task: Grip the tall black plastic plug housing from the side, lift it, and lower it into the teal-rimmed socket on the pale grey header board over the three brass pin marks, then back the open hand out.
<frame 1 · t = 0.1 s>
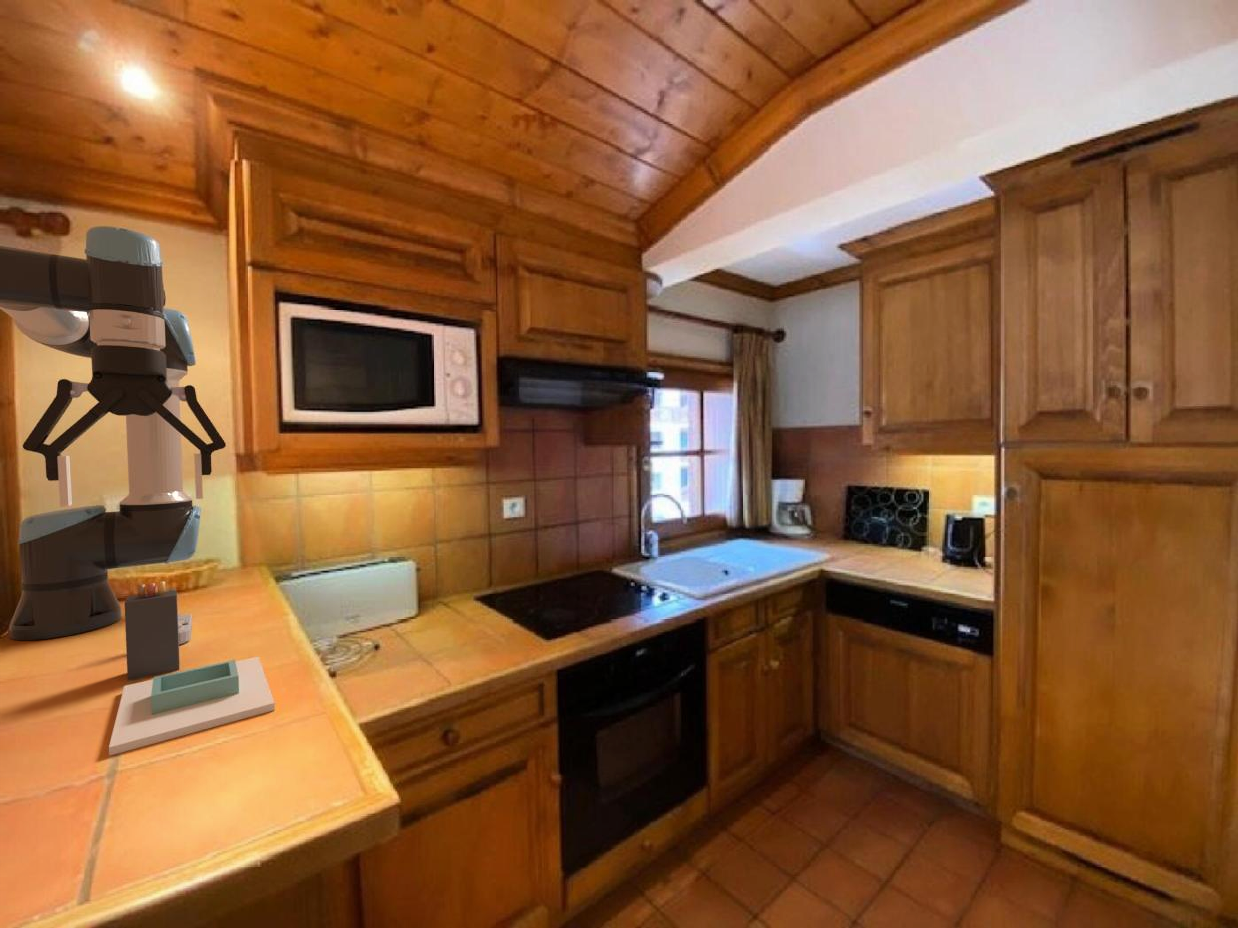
hand: (136, 501, 73), 28 cm above the worktop, tool pointing down, fingers open, 13 cm apart
electronic device: (173, 638, 98), on the worktop
plug housing: (154, 670, 83), on the worktop
header board: (197, 700, 73), on the worktop
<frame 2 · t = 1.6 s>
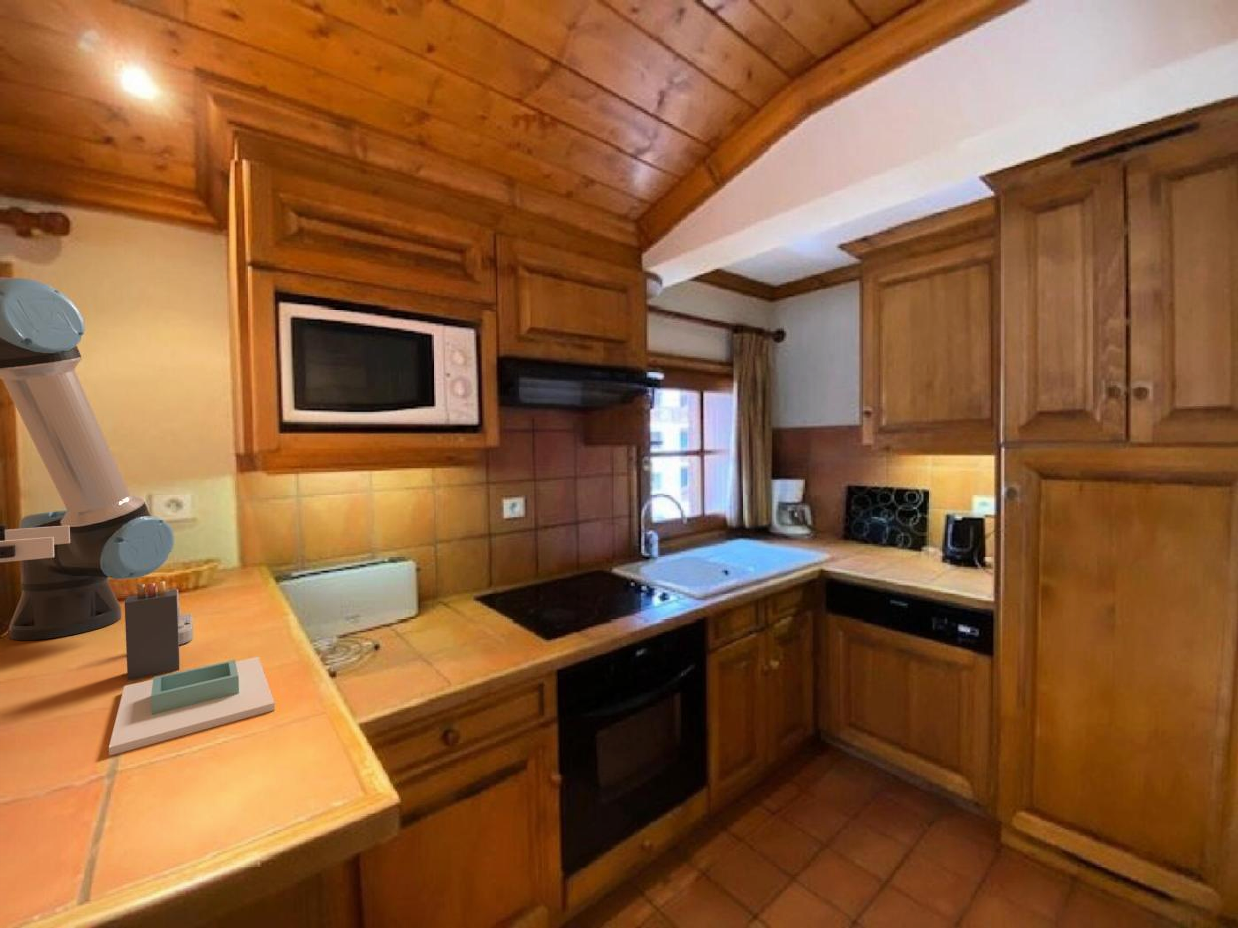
hand: (62, 540, 76), 22 cm above the worktop, tool horizontal, fingers open, 13 cm apart
nothing on the worktop moved.
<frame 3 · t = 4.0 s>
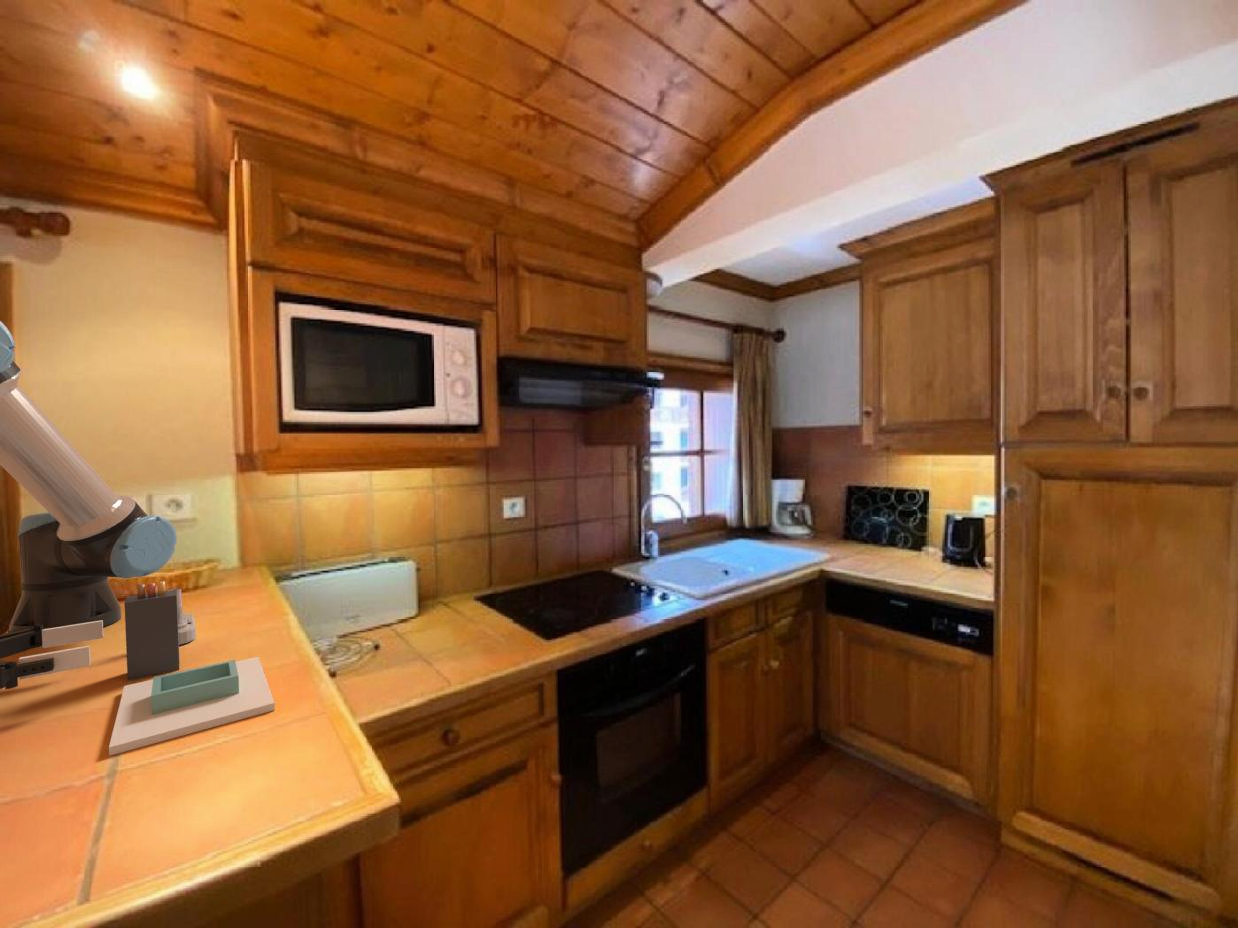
hand: (97, 641, 78), 6 cm above the worktop, tool horizontal, fingers open, 13 cm apart
nothing on the worktop moved.
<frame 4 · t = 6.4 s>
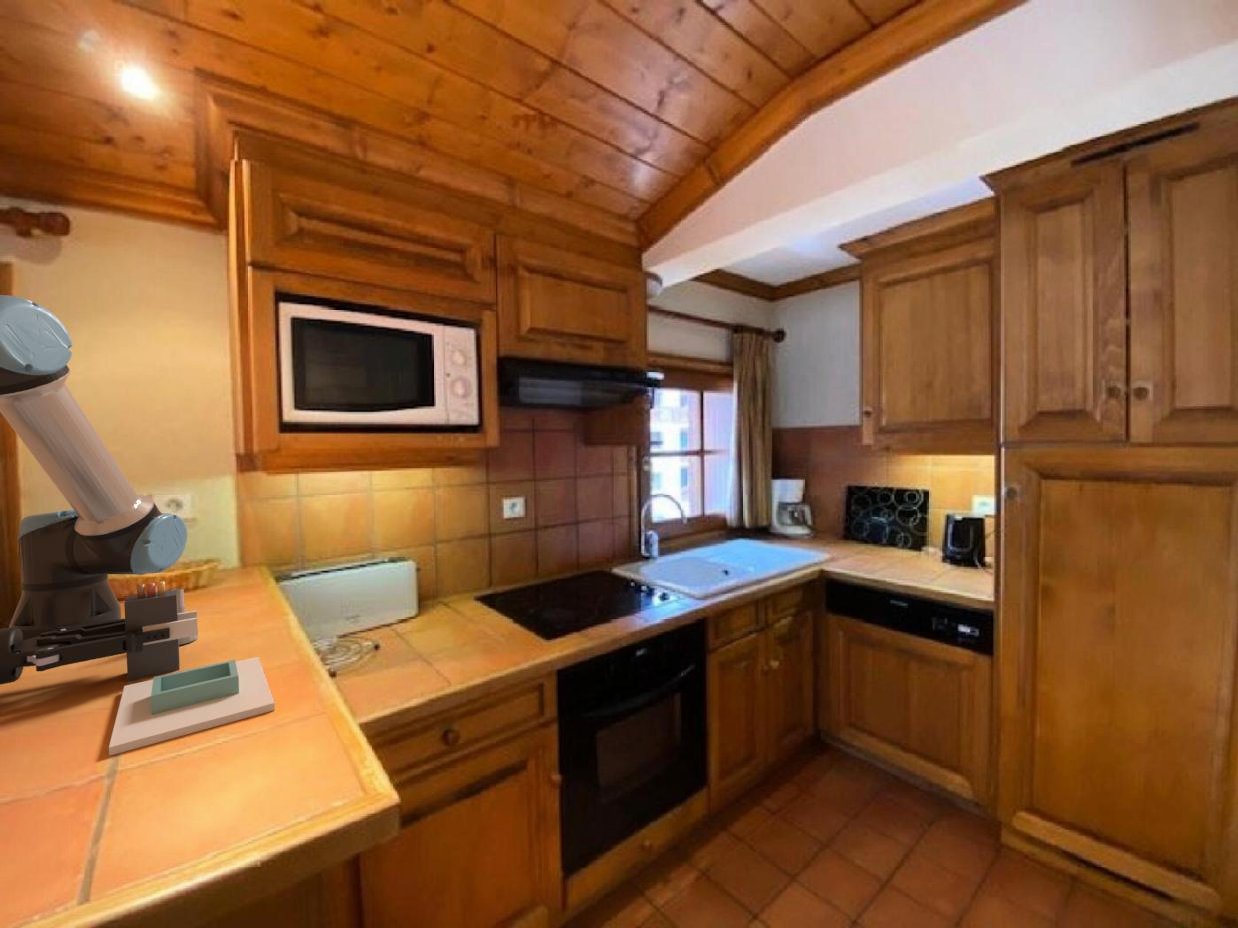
hand: (196, 622, 86), 7 cm above the worktop, tool horizontal, fingers closed on plug housing, 4 cm apart
plug housing: (154, 670, 83), on the worktop, touching gripper
everything else where it was.
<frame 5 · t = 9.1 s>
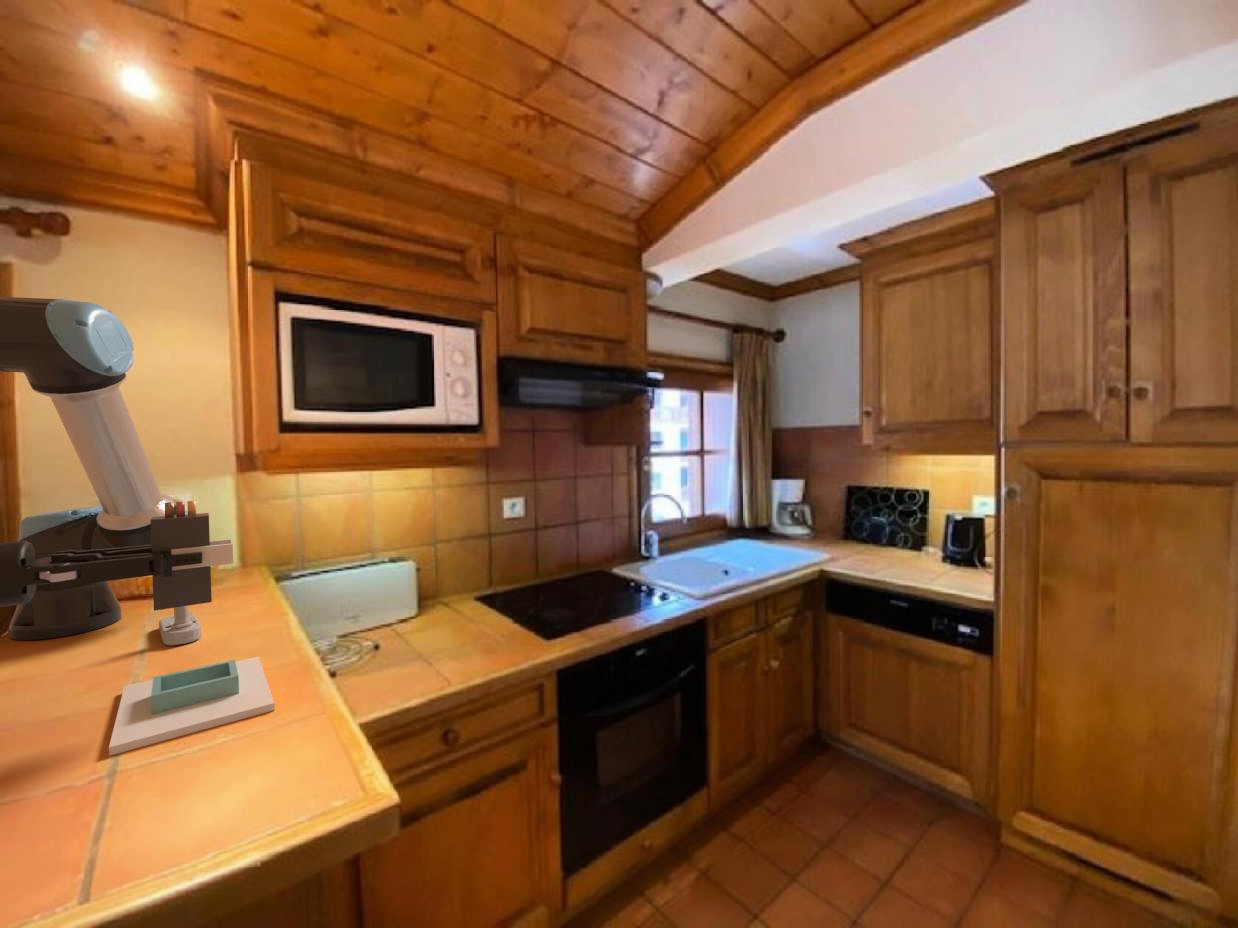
hand: (231, 550, 75), 20 cm above the worktop, tool horizontal, fingers closed on plug housing, 4 cm apart
plug housing: (183, 602, 72), point 14 cm above the worktop, touching gripper
everything else where it was.
when the fingers open (9 cm above the worktop, at t = 12.1 s): plug housing drops 1 cm, resting on header board.
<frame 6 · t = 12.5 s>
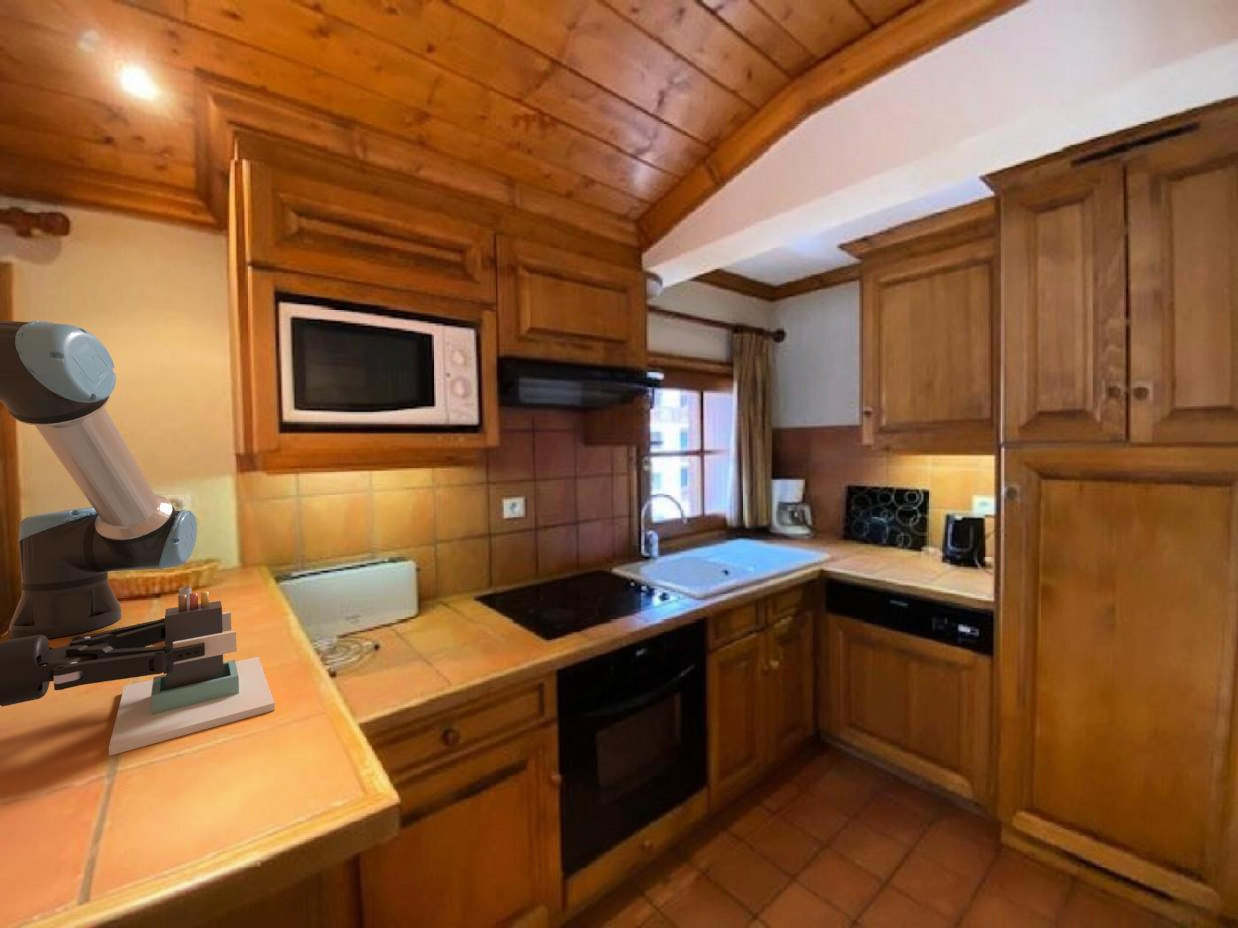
hand: (233, 630, 75), 9 cm above the worktop, tool horizontal, fingers open, 10 cm apart
plug housing: (196, 693, 73), point 1 cm above the worktop, touching header board
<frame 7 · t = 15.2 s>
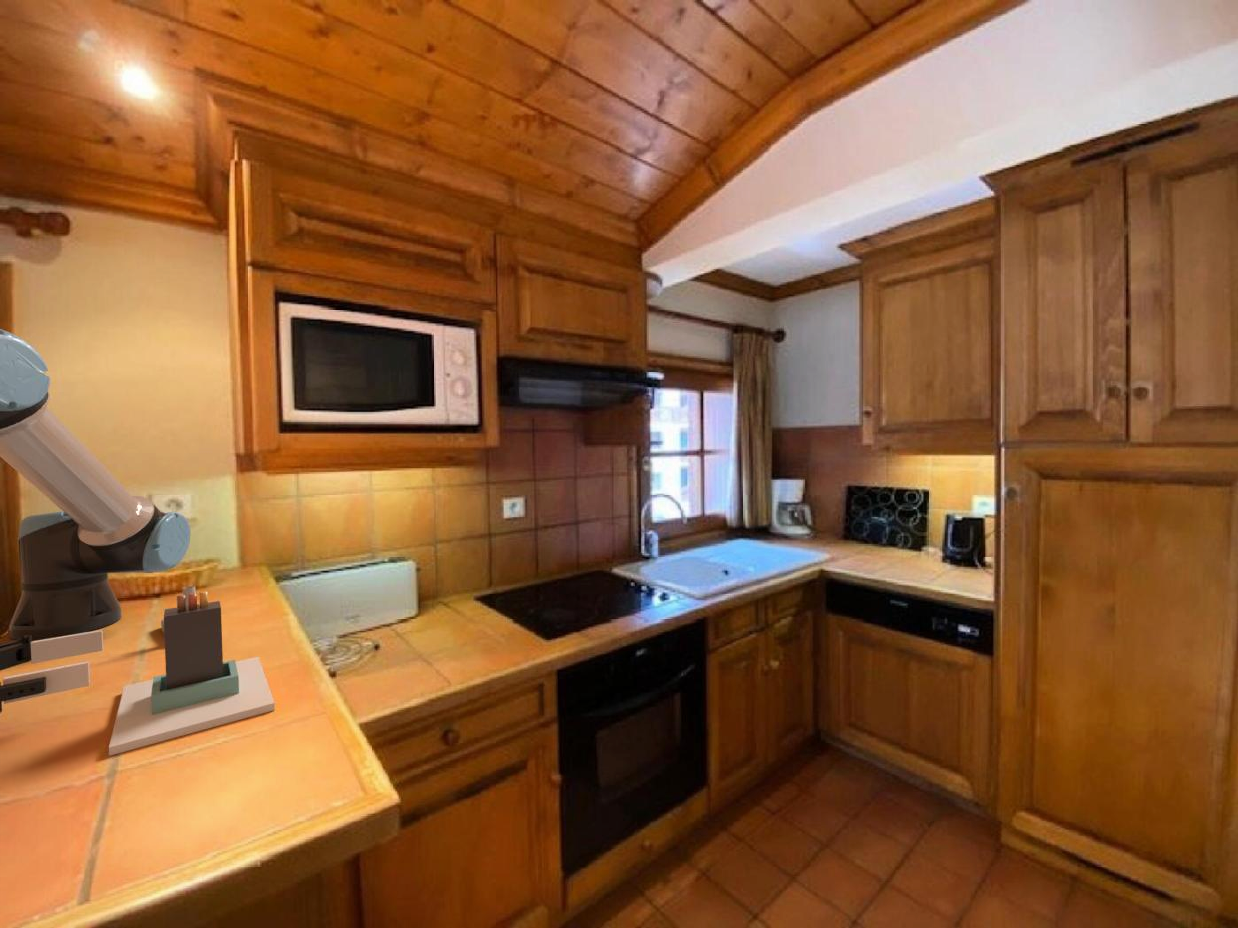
hand: (96, 655, 66), 9 cm above the worktop, tool horizontal, fingers open, 13 cm apart
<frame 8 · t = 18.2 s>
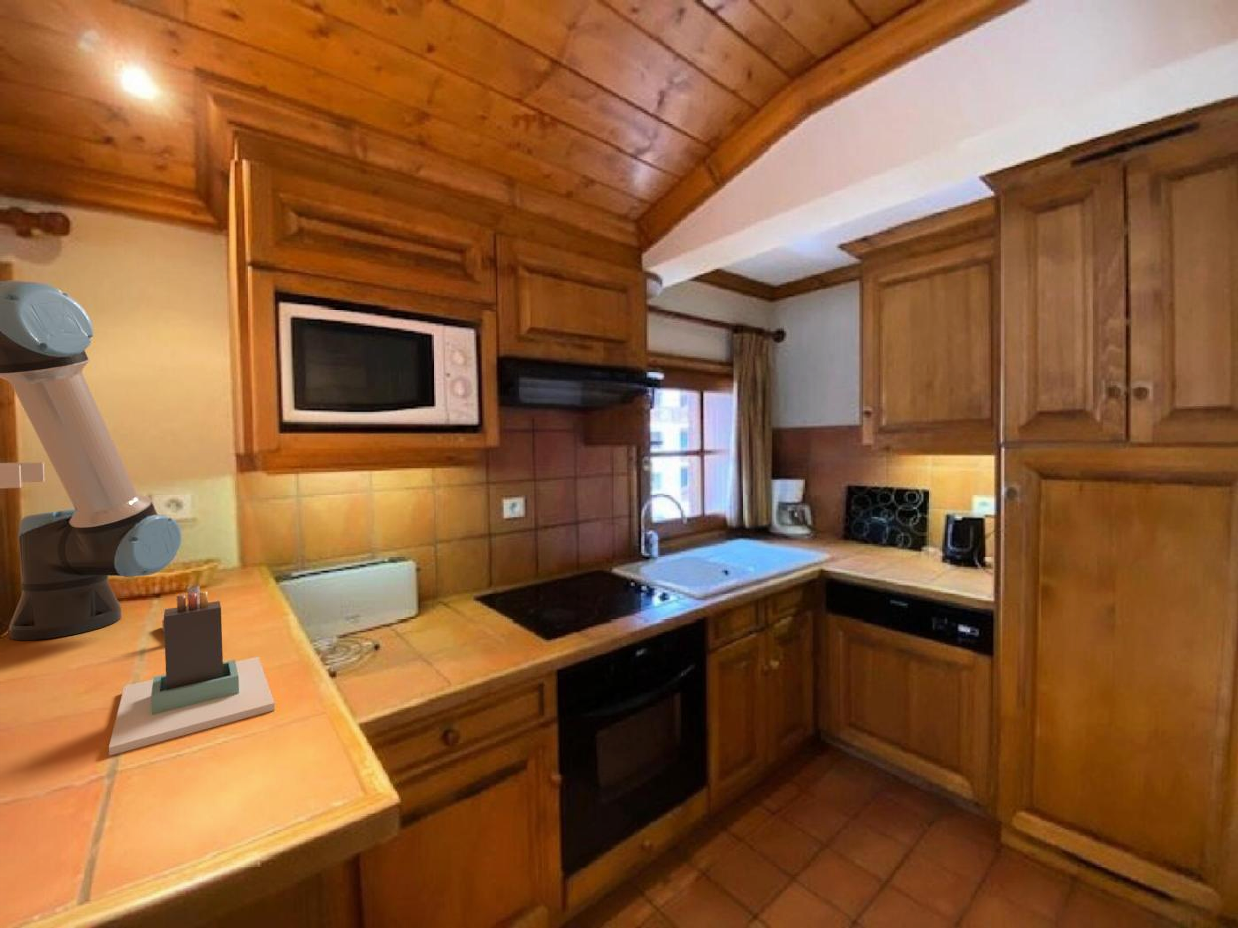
hand: (33, 474, 68), 32 cm above the worktop, tool horizontal, fingers open, 13 cm apart
at the end: plug housing 0.1 cm off-centre on the header board, point 1.1 cm above the header board's base; plug housing tilted 0°; the gripper is holding nothing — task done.
